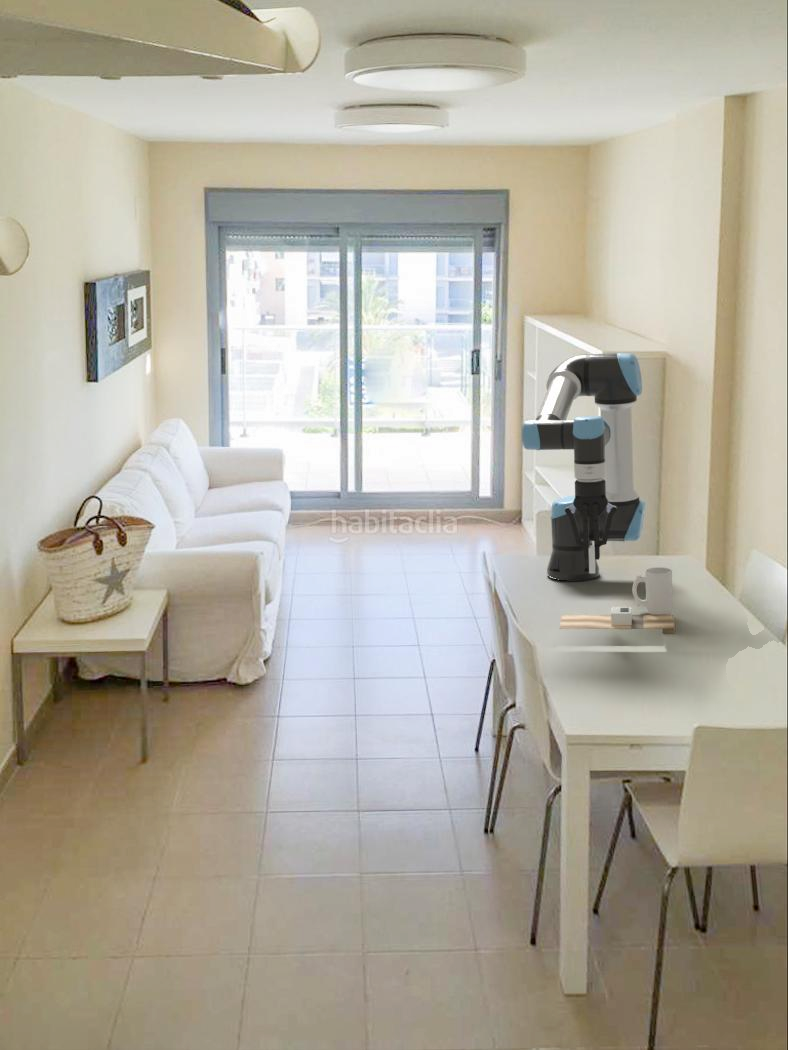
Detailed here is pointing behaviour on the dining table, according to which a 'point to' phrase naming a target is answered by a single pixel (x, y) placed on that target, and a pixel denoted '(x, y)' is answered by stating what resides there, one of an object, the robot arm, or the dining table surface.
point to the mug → (656, 590)
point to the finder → (621, 616)
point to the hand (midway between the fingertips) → (592, 571)
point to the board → (605, 623)
